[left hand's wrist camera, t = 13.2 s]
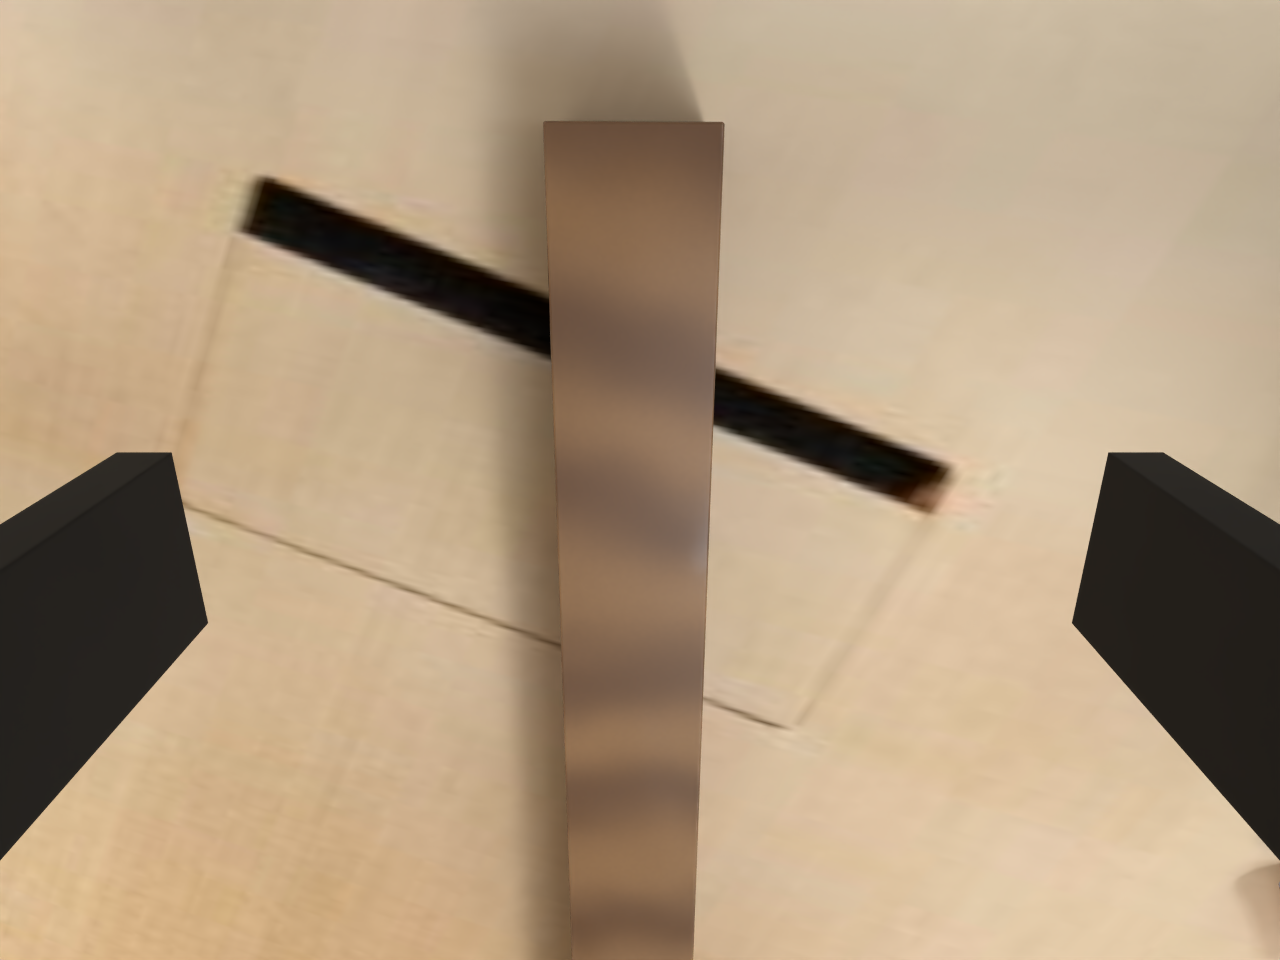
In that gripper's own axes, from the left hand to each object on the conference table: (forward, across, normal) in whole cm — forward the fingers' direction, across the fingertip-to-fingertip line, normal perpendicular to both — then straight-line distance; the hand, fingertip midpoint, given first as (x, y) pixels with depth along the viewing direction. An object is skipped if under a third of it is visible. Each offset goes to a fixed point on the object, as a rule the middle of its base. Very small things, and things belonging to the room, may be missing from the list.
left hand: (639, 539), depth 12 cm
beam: (+25, 0, -28) cm, 37 cm away
